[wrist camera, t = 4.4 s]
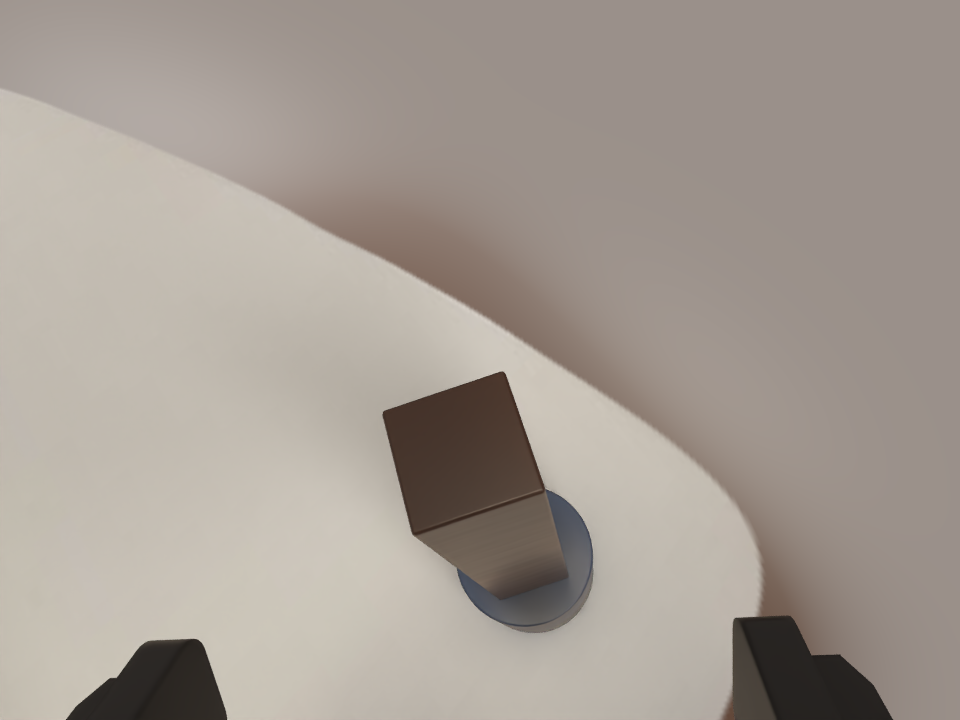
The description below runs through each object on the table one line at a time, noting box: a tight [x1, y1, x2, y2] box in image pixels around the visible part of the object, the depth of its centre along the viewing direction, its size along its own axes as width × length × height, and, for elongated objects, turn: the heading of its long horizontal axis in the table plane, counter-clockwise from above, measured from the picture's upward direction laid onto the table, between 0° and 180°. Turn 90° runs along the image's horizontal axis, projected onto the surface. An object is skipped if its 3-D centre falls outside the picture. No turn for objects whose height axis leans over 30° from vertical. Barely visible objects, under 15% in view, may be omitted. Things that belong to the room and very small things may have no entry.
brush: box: [383, 372, 593, 633], centre depth 19 cm, size 5×5×16 cm
